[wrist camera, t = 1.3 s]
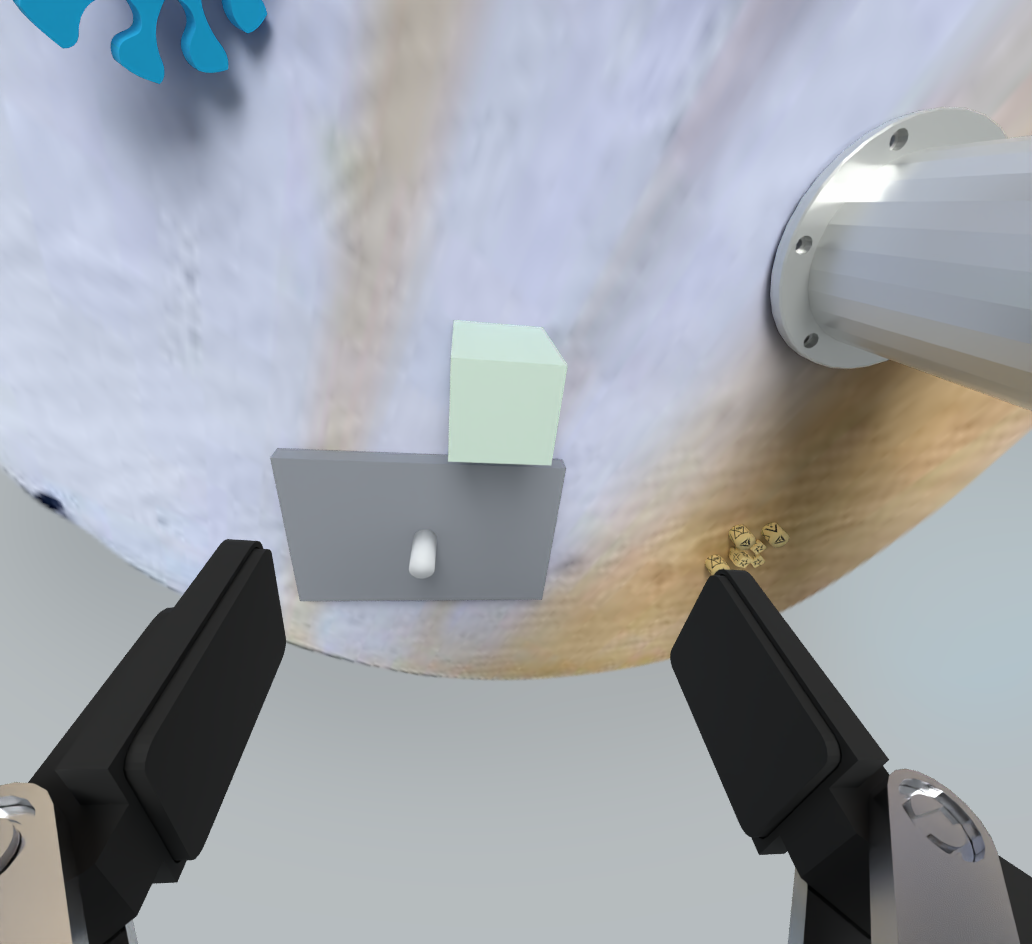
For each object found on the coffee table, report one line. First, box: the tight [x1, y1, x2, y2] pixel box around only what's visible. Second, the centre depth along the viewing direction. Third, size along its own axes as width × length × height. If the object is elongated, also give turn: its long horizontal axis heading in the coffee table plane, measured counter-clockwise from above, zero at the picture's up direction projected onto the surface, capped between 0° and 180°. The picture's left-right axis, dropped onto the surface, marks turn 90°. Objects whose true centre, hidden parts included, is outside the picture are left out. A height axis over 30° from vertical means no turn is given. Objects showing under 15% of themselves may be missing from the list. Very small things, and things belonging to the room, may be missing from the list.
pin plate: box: [270, 448, 566, 601], centre depth 30 cm, size 18×12×4 cm, turn 84°
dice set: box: [705, 522, 790, 575], centre depth 35 cm, size 5×5×2 cm
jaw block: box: [448, 320, 568, 465], centre depth 23 cm, size 5×5×7 cm
